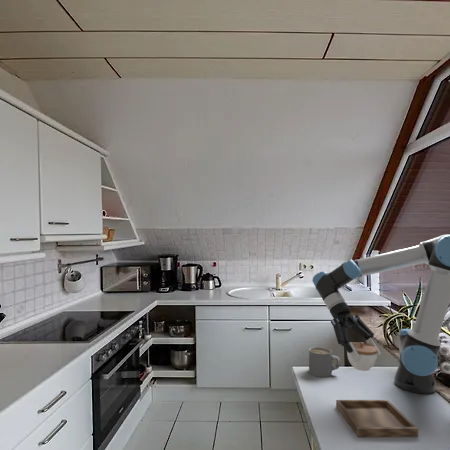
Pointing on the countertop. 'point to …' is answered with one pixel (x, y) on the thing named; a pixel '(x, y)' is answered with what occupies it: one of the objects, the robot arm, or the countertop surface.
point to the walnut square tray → (376, 418)
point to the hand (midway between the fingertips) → (368, 357)
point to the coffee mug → (322, 362)
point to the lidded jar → (363, 356)
